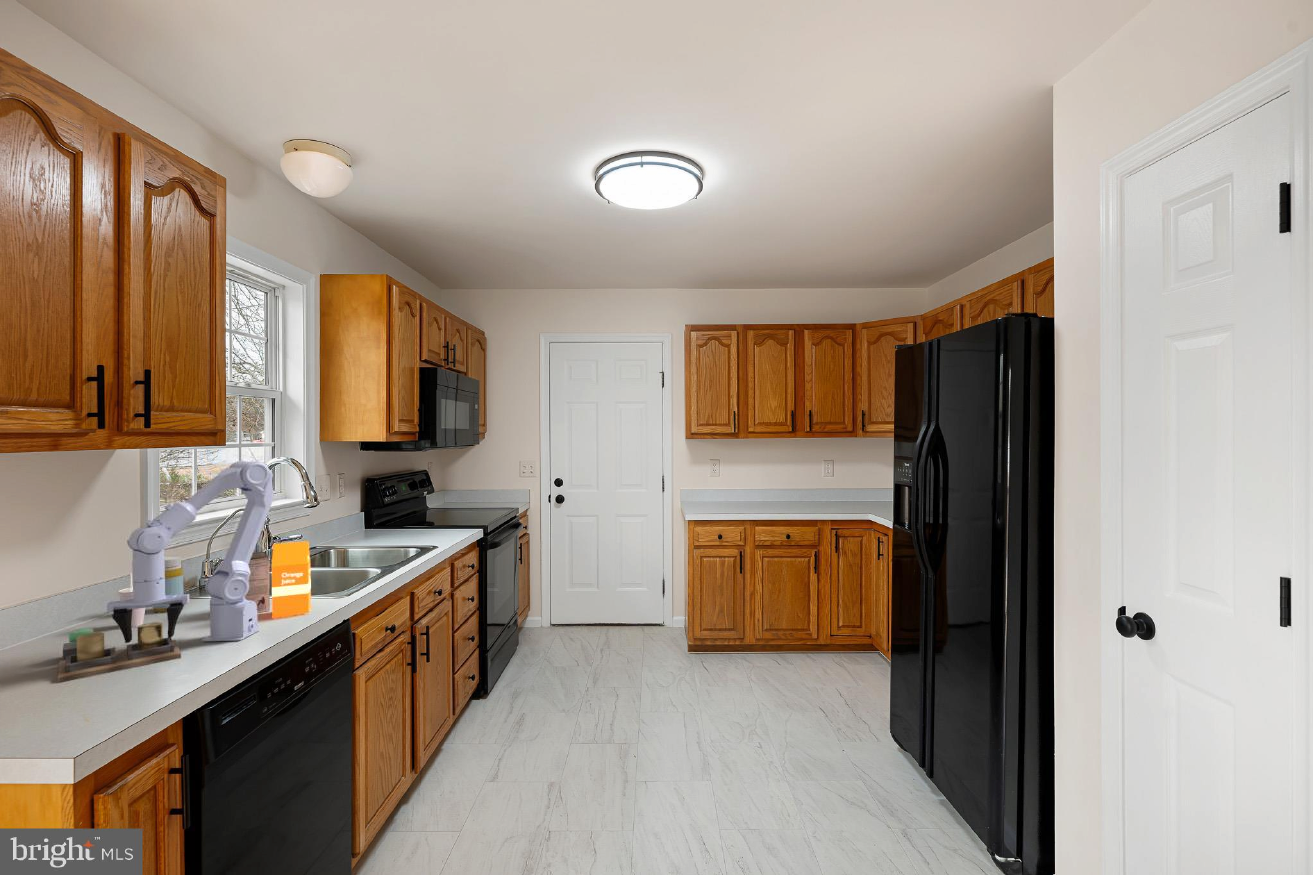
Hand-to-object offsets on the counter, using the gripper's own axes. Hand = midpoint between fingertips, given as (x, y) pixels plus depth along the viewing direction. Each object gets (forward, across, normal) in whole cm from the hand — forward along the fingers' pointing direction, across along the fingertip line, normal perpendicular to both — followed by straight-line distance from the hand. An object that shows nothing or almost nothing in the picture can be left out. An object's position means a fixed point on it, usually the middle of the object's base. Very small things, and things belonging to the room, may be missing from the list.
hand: (150, 638), depth 141 cm
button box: (+4, +14, -7) cm, 16 cm away
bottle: (+4, +6, -46) cm, 47 cm away
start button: (0, +14, -7) cm, 16 cm away
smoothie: (+4, +11, -32) cm, 34 cm away
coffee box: (+4, -16, -33) cm, 37 cm away
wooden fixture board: (+4, +5, +1) cm, 6 cm away
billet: (+3, 0, 0) cm, 3 cm away
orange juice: (+4, -26, -24) cm, 36 cm away
